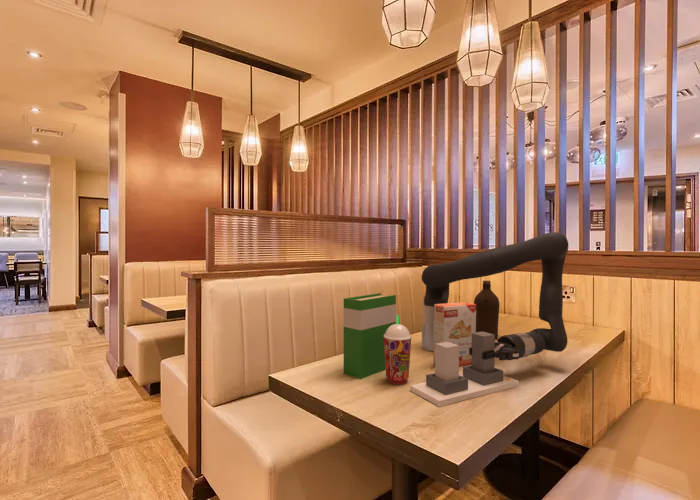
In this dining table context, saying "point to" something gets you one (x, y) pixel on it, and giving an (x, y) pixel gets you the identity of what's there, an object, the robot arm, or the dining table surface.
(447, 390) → the white board with sockets
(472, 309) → the cracker box
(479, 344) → the charcoal plug
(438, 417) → the dining table surface
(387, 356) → the smoothie
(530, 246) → the robot arm
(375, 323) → the hardback book
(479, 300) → the olive oil
